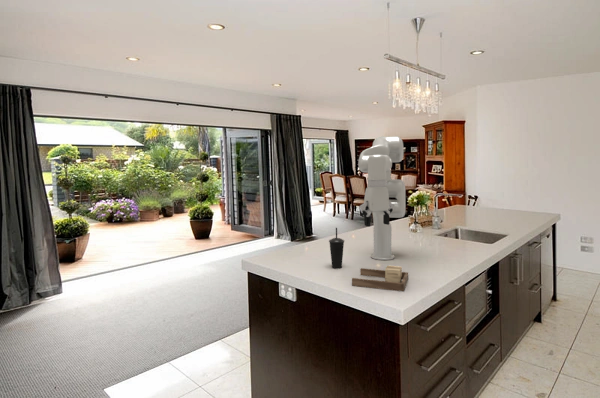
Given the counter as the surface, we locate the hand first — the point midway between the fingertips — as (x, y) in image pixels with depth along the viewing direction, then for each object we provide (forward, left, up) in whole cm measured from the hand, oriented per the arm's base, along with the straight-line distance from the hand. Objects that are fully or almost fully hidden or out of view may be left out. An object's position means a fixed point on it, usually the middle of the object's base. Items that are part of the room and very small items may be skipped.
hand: (377, 225), depth 152 cm
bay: (-2, +1, -25) cm, 25 cm away
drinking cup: (-18, -23, -26) cm, 39 cm away
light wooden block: (-2, +7, -26) cm, 26 cm away
